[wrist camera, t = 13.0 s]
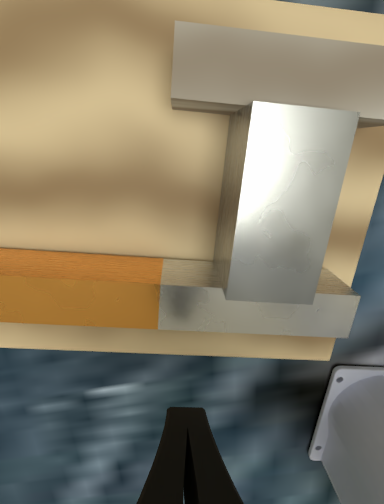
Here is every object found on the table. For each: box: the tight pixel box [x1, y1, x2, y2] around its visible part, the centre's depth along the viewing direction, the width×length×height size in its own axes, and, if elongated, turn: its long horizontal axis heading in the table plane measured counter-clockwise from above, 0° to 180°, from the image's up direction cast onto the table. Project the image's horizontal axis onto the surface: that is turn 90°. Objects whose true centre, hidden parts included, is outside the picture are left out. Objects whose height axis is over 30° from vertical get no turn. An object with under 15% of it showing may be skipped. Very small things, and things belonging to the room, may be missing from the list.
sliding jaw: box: [0, 248, 361, 338], centre depth 16 cm, size 2×20×4 cm, turn 85°
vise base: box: [0, 0, 384, 361], centre depth 15 cm, size 20×23×5 cm
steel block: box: [213, 101, 360, 305], centre depth 14 cm, size 8×4×5 cm, turn 175°
